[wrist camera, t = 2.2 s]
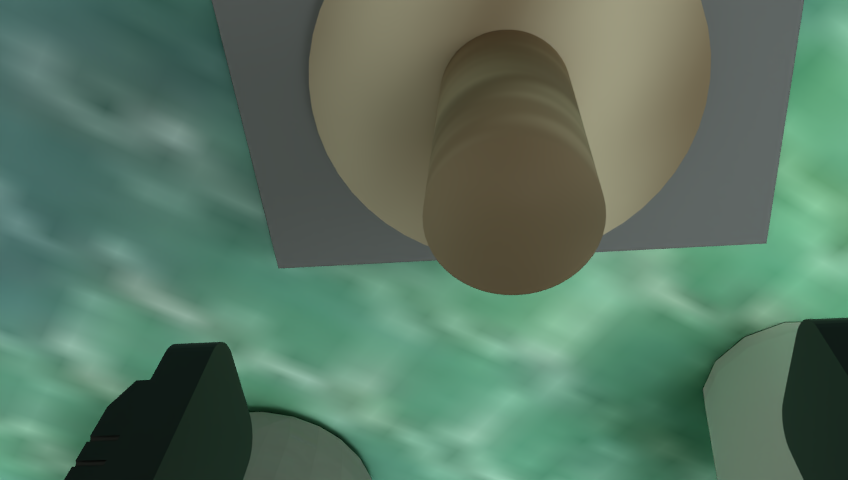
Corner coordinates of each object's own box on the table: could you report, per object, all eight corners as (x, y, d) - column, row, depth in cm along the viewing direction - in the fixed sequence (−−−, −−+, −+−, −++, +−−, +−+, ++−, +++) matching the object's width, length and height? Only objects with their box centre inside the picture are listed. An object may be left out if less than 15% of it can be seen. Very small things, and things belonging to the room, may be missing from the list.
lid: (720, -154, 18) (863, -115, 11) (686, 234, 24) (767, 415, 17) (280, -106, 19) (169, -43, 12) (348, 252, 25) (296, 428, 18)
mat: (820, -191, 18) (833, -190, 17) (758, 230, 24) (766, 243, 24) (193, -120, 20) (182, -116, 19) (284, 255, 26) (278, 268, 25)
